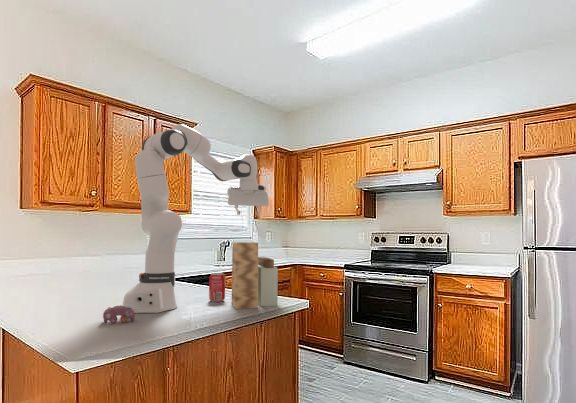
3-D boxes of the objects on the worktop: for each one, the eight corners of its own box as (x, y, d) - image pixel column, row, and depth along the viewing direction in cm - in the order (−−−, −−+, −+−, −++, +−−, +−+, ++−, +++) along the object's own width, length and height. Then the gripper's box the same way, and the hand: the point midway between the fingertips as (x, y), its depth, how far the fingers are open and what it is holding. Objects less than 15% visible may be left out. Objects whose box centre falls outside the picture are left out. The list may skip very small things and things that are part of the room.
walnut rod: (265, 268, 164) (265, 259, 164) (256, 263, 185) (256, 256, 185) (273, 267, 165) (273, 259, 165) (263, 263, 186) (263, 256, 186)
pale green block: (260, 306, 163) (261, 268, 164) (254, 299, 178) (254, 264, 179) (277, 305, 164) (277, 267, 166) (269, 299, 180) (269, 264, 181)
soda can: (217, 299, 180) (218, 272, 181) (228, 300, 175) (228, 273, 176) (205, 301, 174) (206, 273, 175) (215, 302, 170) (216, 274, 171)
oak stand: (235, 308, 157) (236, 243, 159) (231, 303, 169) (232, 242, 171) (257, 307, 159) (258, 243, 161) (252, 302, 171) (253, 242, 173)
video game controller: (102, 328, 130) (101, 311, 128) (104, 319, 134) (103, 302, 132) (134, 326, 133) (134, 309, 131) (135, 318, 137) (135, 301, 135)
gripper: (228, 185, 193) (227, 214, 192) (269, 187, 198) (269, 214, 197) (226, 187, 199) (226, 214, 198) (266, 188, 204) (266, 215, 203)
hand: (248, 214), depth 197 cm, fingers open, 8 cm apart
